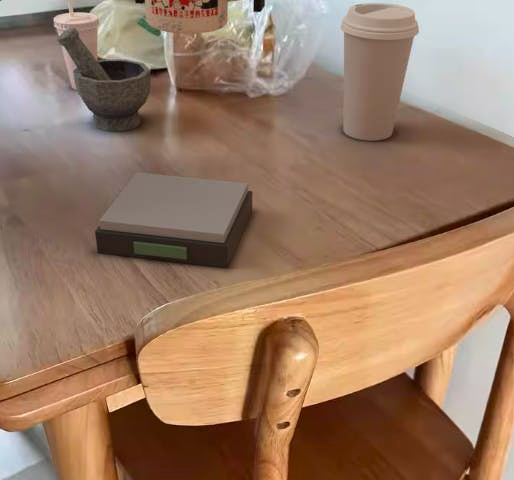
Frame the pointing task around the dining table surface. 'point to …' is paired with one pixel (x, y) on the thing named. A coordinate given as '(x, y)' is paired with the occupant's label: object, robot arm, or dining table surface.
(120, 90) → the mortar and pestle
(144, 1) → the robot arm
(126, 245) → the scale
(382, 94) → the coffee cup
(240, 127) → the dining table surface
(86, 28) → the smoothie
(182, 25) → the teacup with lid
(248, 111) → the dining table surface
